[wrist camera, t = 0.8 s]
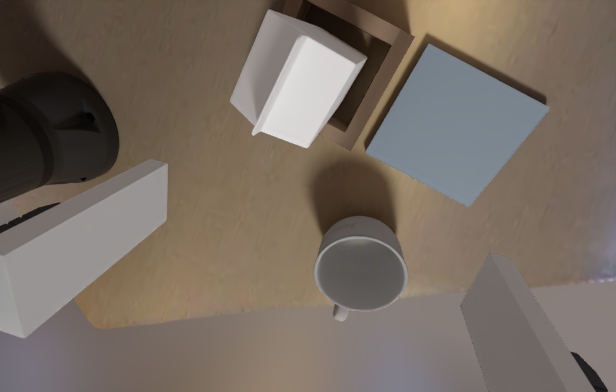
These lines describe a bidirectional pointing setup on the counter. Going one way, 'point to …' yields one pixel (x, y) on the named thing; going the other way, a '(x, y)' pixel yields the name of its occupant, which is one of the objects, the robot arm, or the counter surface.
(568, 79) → the counter surface
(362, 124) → the frame
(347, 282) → the teacup
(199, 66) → the counter surface
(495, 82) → the board
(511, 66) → the counter surface
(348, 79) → the milk
